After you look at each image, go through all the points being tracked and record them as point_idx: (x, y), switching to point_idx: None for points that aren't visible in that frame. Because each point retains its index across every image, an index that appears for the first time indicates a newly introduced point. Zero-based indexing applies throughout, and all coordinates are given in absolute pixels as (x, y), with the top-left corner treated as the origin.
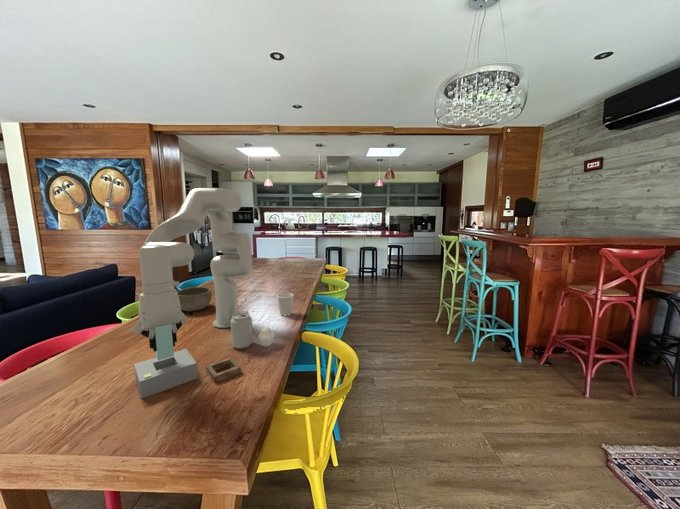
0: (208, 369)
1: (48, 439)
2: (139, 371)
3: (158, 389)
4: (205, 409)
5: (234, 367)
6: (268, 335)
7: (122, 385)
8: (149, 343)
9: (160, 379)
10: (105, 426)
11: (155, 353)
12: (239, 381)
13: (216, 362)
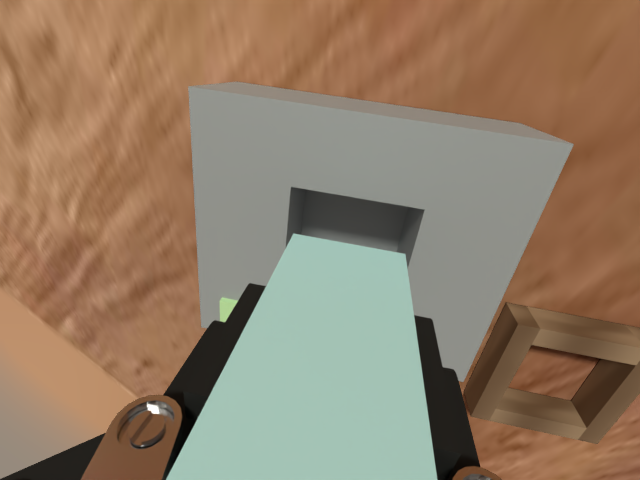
0: (500, 358)
1: (18, 264)
2: (209, 231)
3: None
4: None
5: (577, 430)
6: None
7: (178, 94)
8: (198, 344)
9: None
10: (142, 325)
11: (288, 245)
12: (523, 443)
13: (576, 339)
